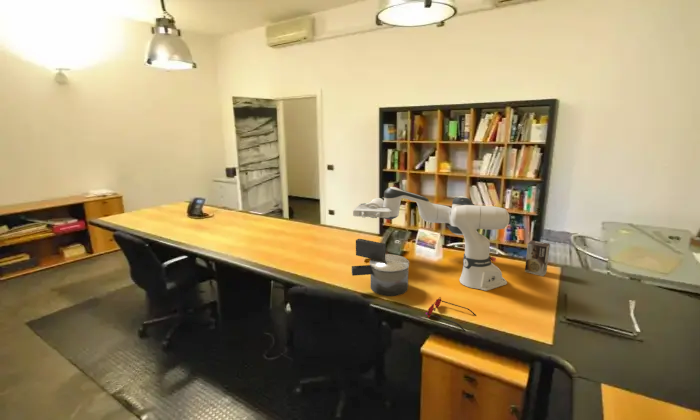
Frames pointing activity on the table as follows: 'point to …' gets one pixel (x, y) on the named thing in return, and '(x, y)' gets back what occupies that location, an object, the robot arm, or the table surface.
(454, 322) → the glasses
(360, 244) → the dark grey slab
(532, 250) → the coffee box
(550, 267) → the table surface
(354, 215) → the robot arm
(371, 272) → the pot
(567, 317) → the table surface
